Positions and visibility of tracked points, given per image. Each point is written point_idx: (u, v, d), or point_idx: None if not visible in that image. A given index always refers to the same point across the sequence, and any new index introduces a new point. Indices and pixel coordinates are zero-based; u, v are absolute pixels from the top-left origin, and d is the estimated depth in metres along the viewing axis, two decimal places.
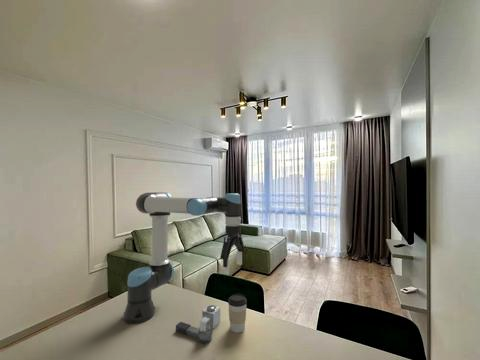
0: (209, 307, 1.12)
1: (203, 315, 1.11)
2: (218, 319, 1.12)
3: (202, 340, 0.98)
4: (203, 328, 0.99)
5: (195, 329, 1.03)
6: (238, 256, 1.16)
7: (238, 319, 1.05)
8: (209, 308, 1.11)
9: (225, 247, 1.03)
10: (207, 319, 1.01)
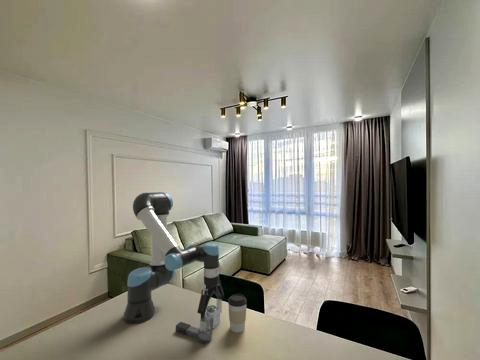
0: (209, 307, 1.12)
1: None
2: (218, 319, 1.12)
3: (202, 340, 0.98)
4: (203, 328, 0.99)
5: (195, 329, 1.03)
6: (218, 304, 1.18)
7: (238, 319, 1.05)
8: (209, 308, 1.11)
9: (202, 301, 1.05)
10: (207, 319, 1.01)
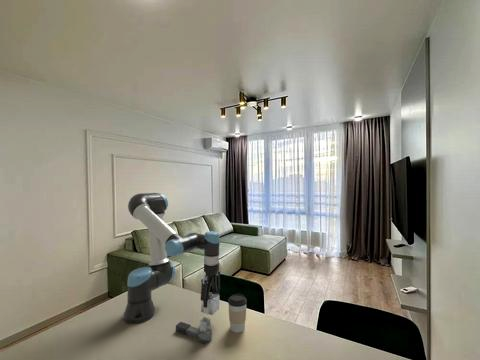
0: None
1: (202, 302, 1.11)
2: (217, 306, 1.13)
3: (202, 340, 0.98)
4: (203, 328, 0.99)
5: (195, 329, 1.03)
6: None
7: (238, 319, 1.05)
8: None
9: (203, 289, 1.07)
10: (207, 319, 1.01)
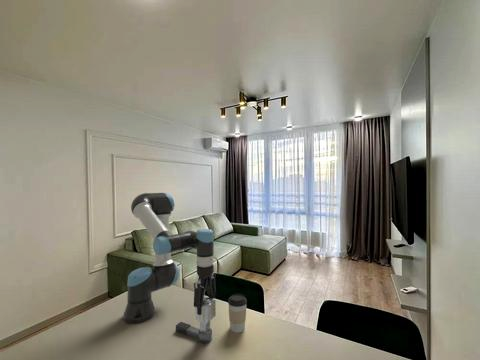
0: (203, 299, 1.01)
1: (196, 308, 0.99)
2: (213, 313, 1.01)
3: (202, 340, 0.98)
4: (203, 328, 0.99)
5: (195, 329, 1.03)
6: None
7: (238, 319, 1.05)
8: (203, 300, 1.00)
9: (197, 294, 0.95)
10: None
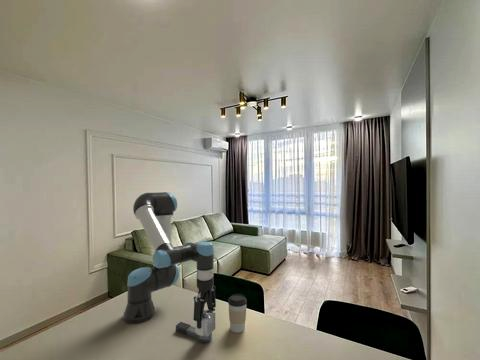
0: (203, 312, 1.01)
1: (196, 321, 0.99)
2: (213, 326, 1.00)
3: (202, 340, 0.98)
4: None
5: None
6: None
7: (238, 319, 1.05)
8: (203, 314, 1.00)
9: (196, 308, 0.95)
10: None
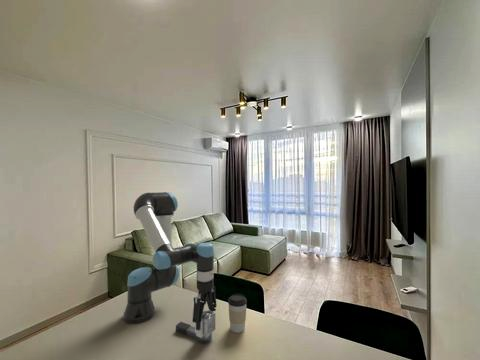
0: (203, 313, 1.01)
1: None
2: (213, 326, 1.00)
3: (202, 340, 0.98)
4: None
5: None
6: None
7: (238, 319, 1.05)
8: (203, 314, 1.00)
9: (196, 309, 0.95)
10: None
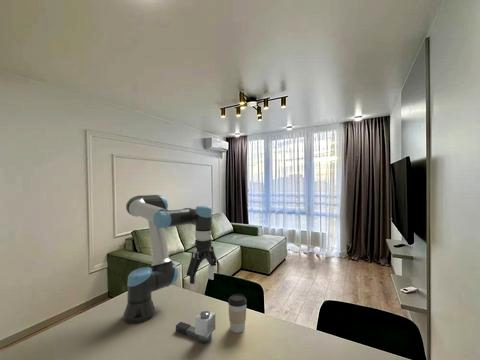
0: (203, 313, 1.01)
1: (196, 322, 0.99)
2: (213, 326, 1.00)
3: (202, 340, 0.98)
4: None
5: None
6: (210, 270, 1.12)
7: (238, 319, 1.05)
8: (203, 314, 1.00)
9: (192, 263, 0.99)
10: None
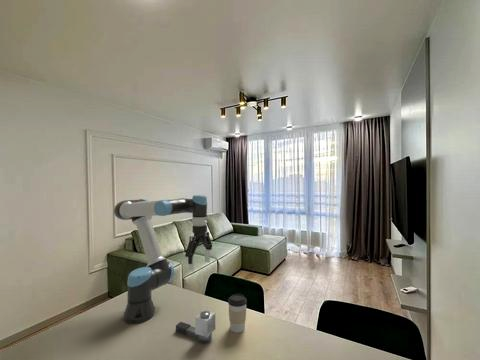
0: (203, 313, 1.01)
1: (196, 322, 0.99)
2: (213, 326, 1.00)
3: (202, 340, 0.98)
4: None
5: None
6: (206, 254, 1.23)
7: (238, 319, 1.05)
8: (203, 314, 1.00)
9: (190, 245, 1.11)
10: None
